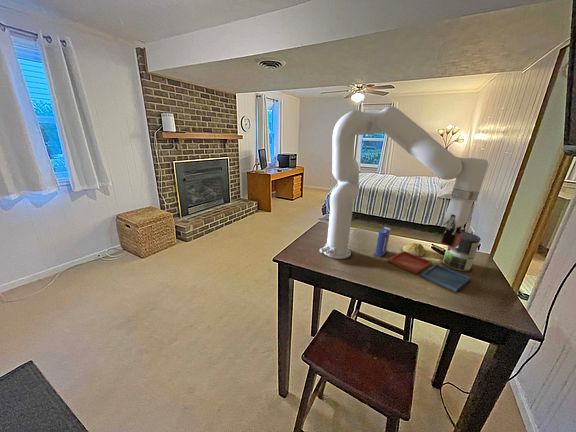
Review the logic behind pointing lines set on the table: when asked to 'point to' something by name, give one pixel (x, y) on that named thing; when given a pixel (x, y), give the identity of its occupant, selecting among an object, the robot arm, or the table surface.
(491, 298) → the table surface
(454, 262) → the coffee can
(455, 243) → the block
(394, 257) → the terracotta tray
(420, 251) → the fossil
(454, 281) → the slate tray
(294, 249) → the table surface
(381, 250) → the walkman
